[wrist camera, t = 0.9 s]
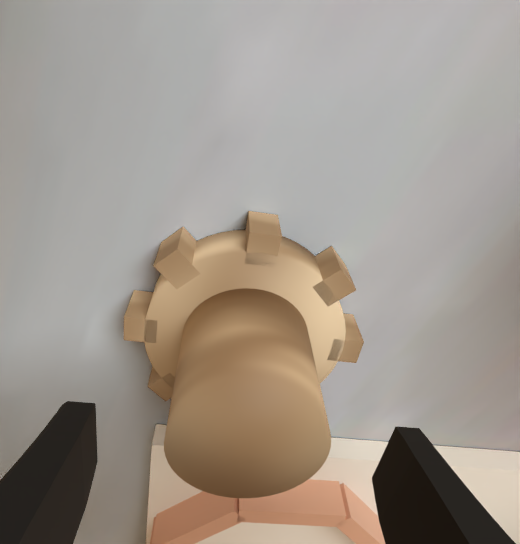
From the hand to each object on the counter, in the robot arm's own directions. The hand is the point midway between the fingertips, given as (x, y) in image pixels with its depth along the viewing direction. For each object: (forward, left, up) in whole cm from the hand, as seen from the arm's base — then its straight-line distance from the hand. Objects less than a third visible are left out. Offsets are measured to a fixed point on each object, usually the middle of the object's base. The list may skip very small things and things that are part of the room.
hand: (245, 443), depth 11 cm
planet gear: (0, 0, -5) cm, 5 cm away
